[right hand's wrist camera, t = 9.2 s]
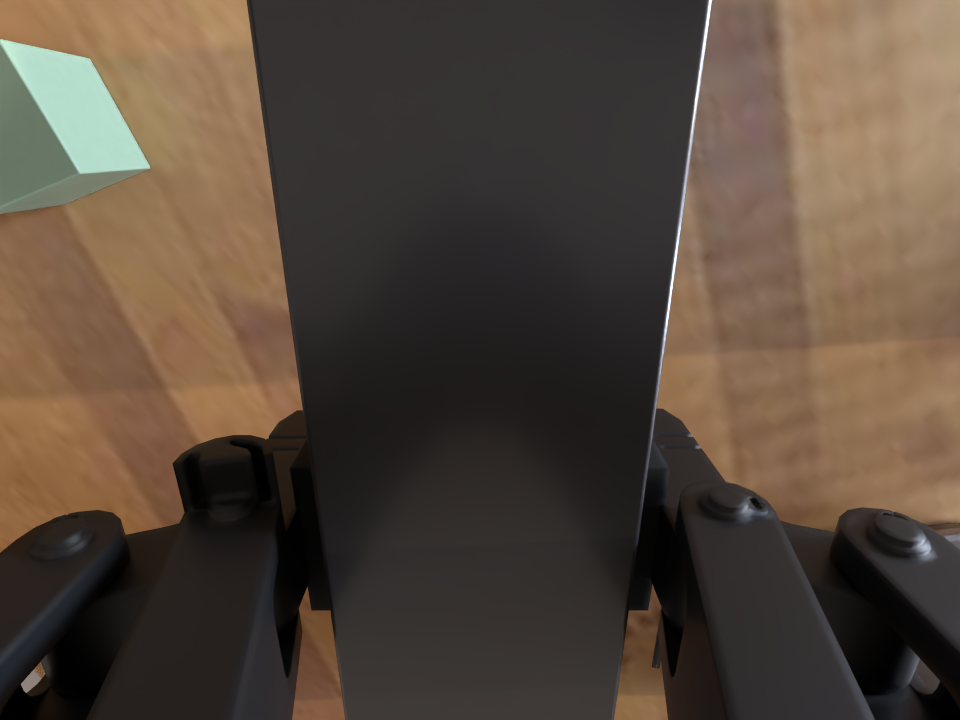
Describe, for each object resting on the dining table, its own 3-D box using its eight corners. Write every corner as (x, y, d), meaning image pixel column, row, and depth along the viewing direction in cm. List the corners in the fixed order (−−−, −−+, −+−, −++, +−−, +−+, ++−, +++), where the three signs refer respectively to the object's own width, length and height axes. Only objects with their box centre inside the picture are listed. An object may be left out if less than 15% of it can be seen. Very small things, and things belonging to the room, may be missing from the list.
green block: (90, 57, 24) (-2, 37, 20) (152, 168, 26) (81, 173, 21) (-2, 99, 25) (-112, 89, 20) (64, 204, 27) (-23, 218, 22)
